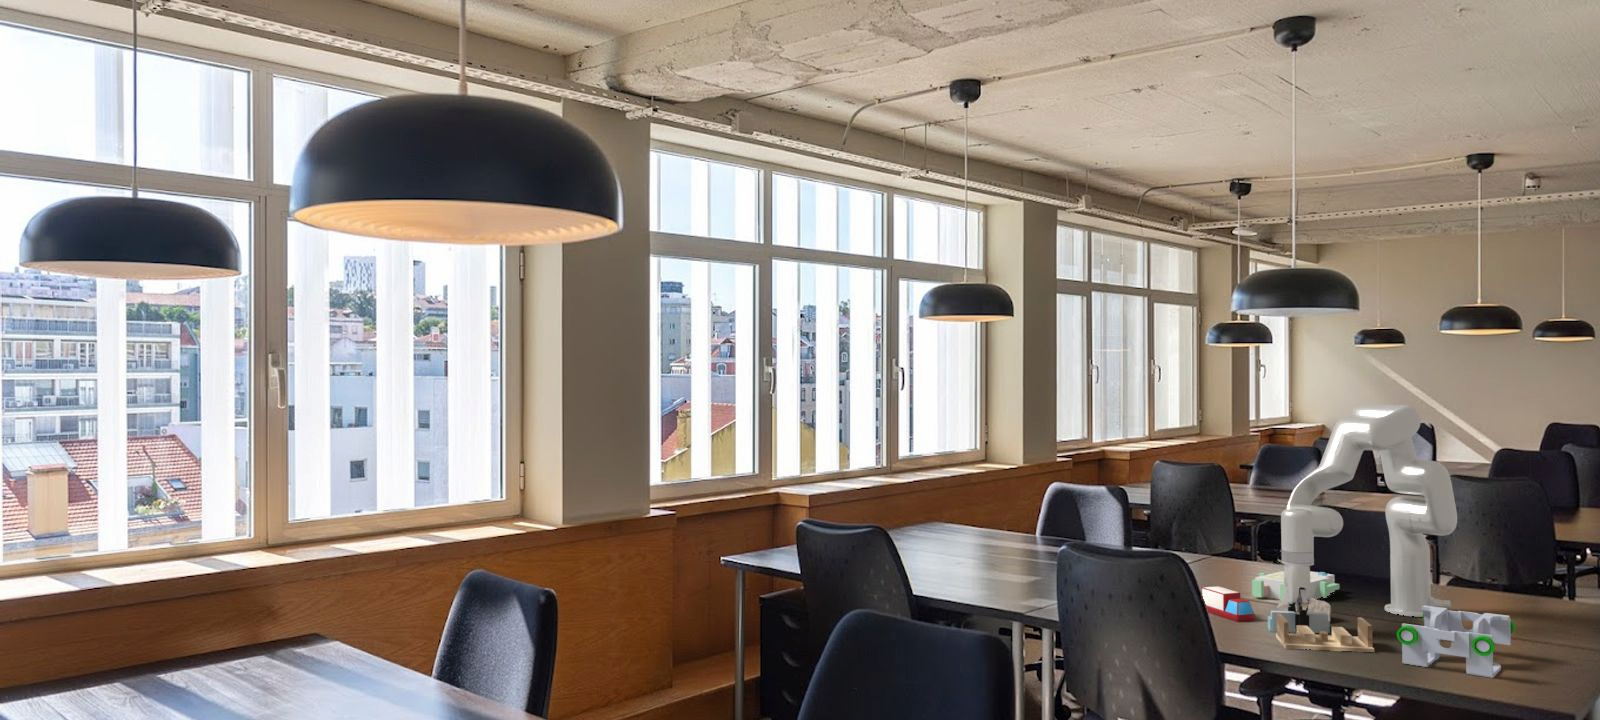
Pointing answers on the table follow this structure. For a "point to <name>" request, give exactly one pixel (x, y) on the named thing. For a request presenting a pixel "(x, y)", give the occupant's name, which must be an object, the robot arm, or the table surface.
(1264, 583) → the decorative block
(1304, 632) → the cradle
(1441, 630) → the bracket
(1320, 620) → the blocks in teal channel
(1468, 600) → the table surface
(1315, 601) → the concrete fragment
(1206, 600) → the toy truck
